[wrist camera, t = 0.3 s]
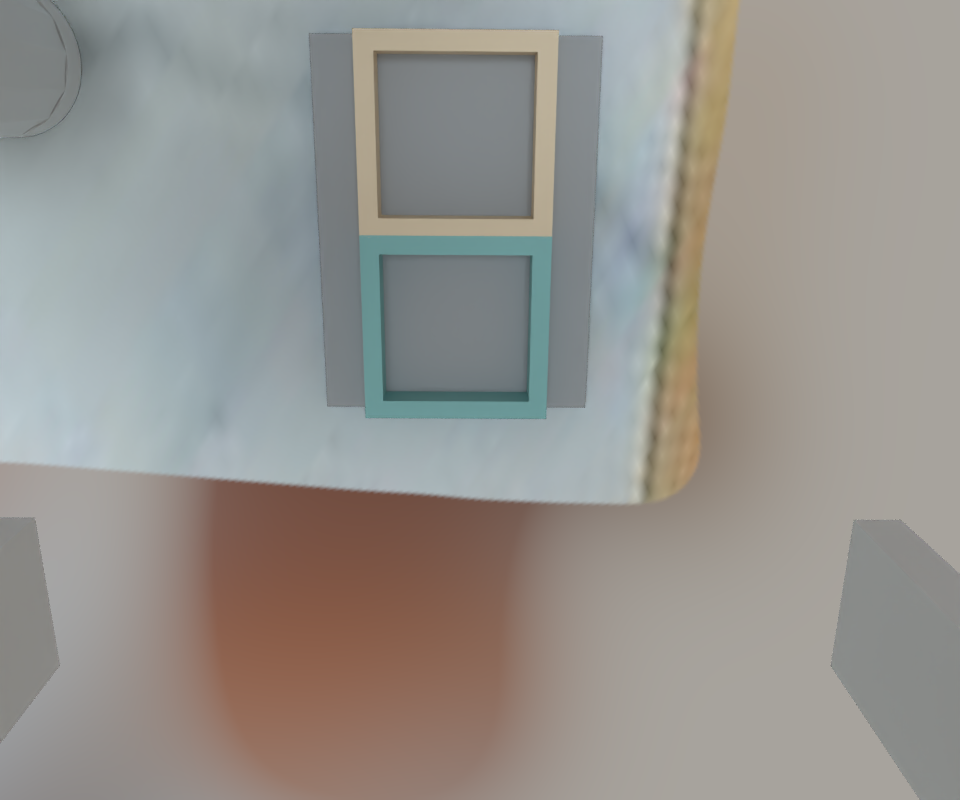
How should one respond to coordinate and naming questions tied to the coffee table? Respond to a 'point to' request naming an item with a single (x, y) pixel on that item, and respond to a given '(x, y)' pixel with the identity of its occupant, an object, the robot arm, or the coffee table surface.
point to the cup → (35, 67)
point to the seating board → (456, 218)
